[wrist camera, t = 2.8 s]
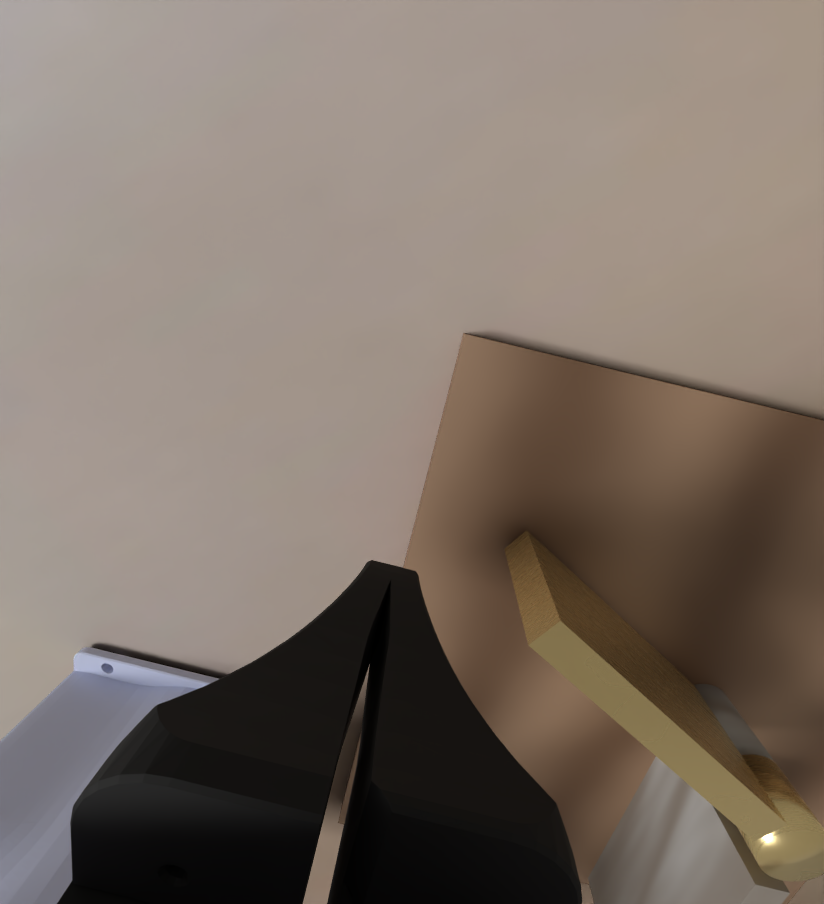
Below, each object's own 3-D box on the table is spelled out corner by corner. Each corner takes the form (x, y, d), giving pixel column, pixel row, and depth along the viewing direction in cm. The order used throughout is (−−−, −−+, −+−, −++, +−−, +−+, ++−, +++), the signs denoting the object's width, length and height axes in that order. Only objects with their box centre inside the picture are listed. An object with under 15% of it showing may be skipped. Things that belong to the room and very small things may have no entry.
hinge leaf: (697, 741, 16) (786, 891, 12) (493, 557, 15) (512, 656, 10) (744, 713, 16) (854, 860, 12) (538, 520, 14) (577, 607, 10)
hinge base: (342, 803, 20) (305, 976, 15) (463, 332, 14) (474, 344, 8) (755, 905, 20) (864, 1113, 15) (1083, 482, 14) (1490, 589, 8)
